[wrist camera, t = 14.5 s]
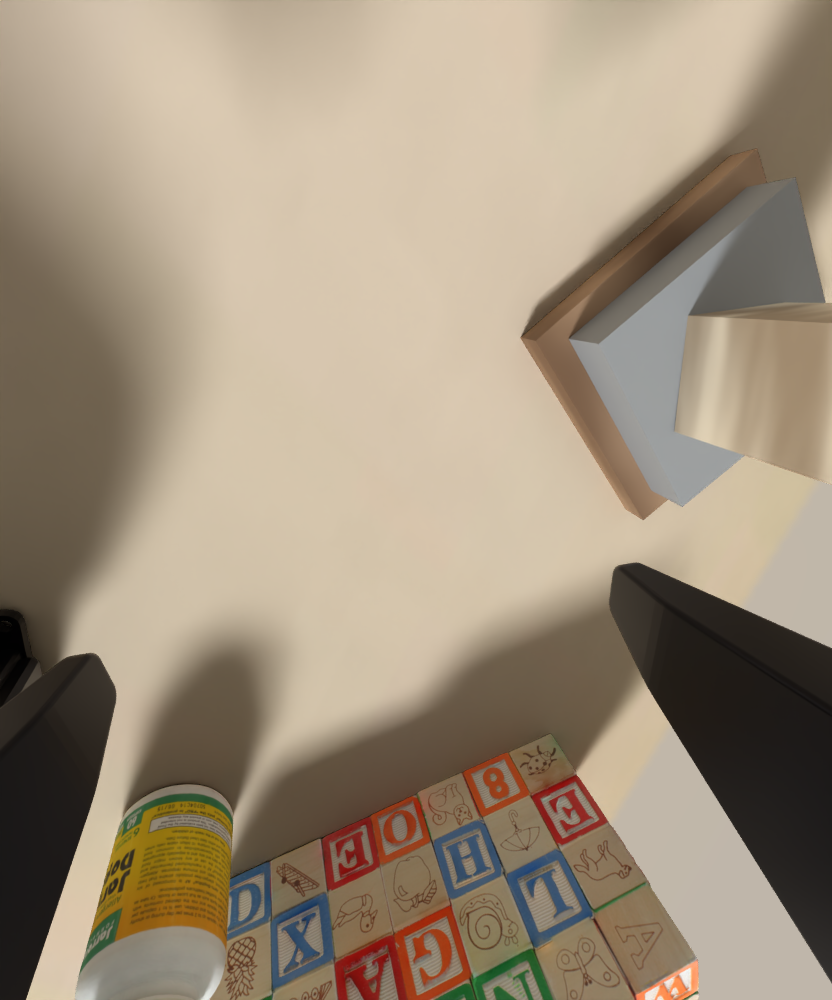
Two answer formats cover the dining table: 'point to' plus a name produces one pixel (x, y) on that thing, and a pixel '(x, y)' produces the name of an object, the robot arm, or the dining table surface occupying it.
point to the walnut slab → (597, 293)
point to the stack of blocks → (461, 901)
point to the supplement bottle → (163, 901)
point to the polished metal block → (761, 384)
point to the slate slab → (663, 320)
